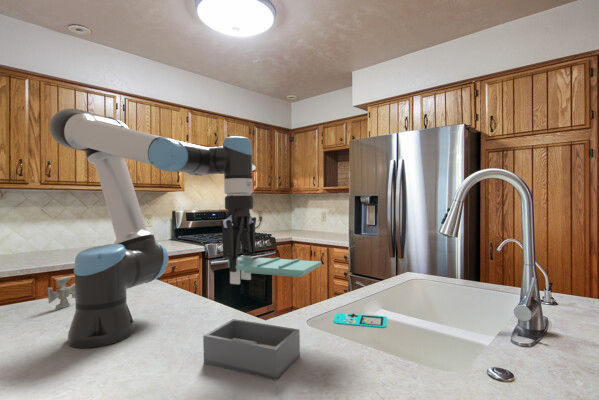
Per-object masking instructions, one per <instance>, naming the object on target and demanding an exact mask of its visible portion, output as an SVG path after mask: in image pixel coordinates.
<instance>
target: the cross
mask: <svg viewBox="0 0 599 400" xmlns="http://www.w3.org/2000/svg"><path fill="white" fill-rule="evenodd" d="M71 278H72V277H71V276H70V275H69V276H65V277H62V278H61V277H60V278H58V279H56V280H55V281H56V283H57V285H58V289H57V291H53V290H54V289H53V287H47V297H48V298H47V299H48V304H51V303H53V301H55V300H57V299H58V300H59V303H58V304H56V305H55V309H54V311H58V310H60V309H63V308H66V307H68V306H71V304H70V302H69V300H68V298H67V297H70V295H71V298H72V299H75V282H74V283H73V284H72V285H70V286H66V285H67V282H69V281H70V280H71Z"/></svg>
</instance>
